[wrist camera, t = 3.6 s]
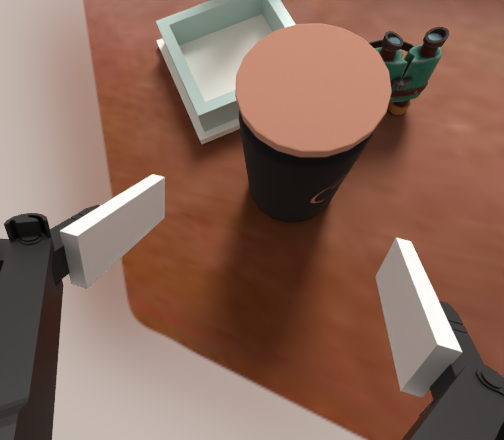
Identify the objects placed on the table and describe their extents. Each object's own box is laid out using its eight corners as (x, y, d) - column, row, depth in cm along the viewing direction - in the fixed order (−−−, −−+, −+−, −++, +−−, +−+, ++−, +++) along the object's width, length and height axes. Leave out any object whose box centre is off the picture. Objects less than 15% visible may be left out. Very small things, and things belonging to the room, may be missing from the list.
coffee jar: (311, 239, 34) (355, 179, 17) (235, 201, 36) (205, 113, 19) (345, 168, 37) (415, 51, 19) (272, 136, 39) (277, 4, 21)
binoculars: (438, -16, 32) (468, 46, 28) (398, 66, 42) (416, 120, 38) (358, -9, 32) (377, 54, 28) (337, 71, 42) (349, 125, 38)
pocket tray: (325, 93, 40) (332, 68, 36) (201, 144, 39) (193, 125, 34) (269, 3, 45) (270, -28, 41) (158, 46, 44) (146, 18, 39)
